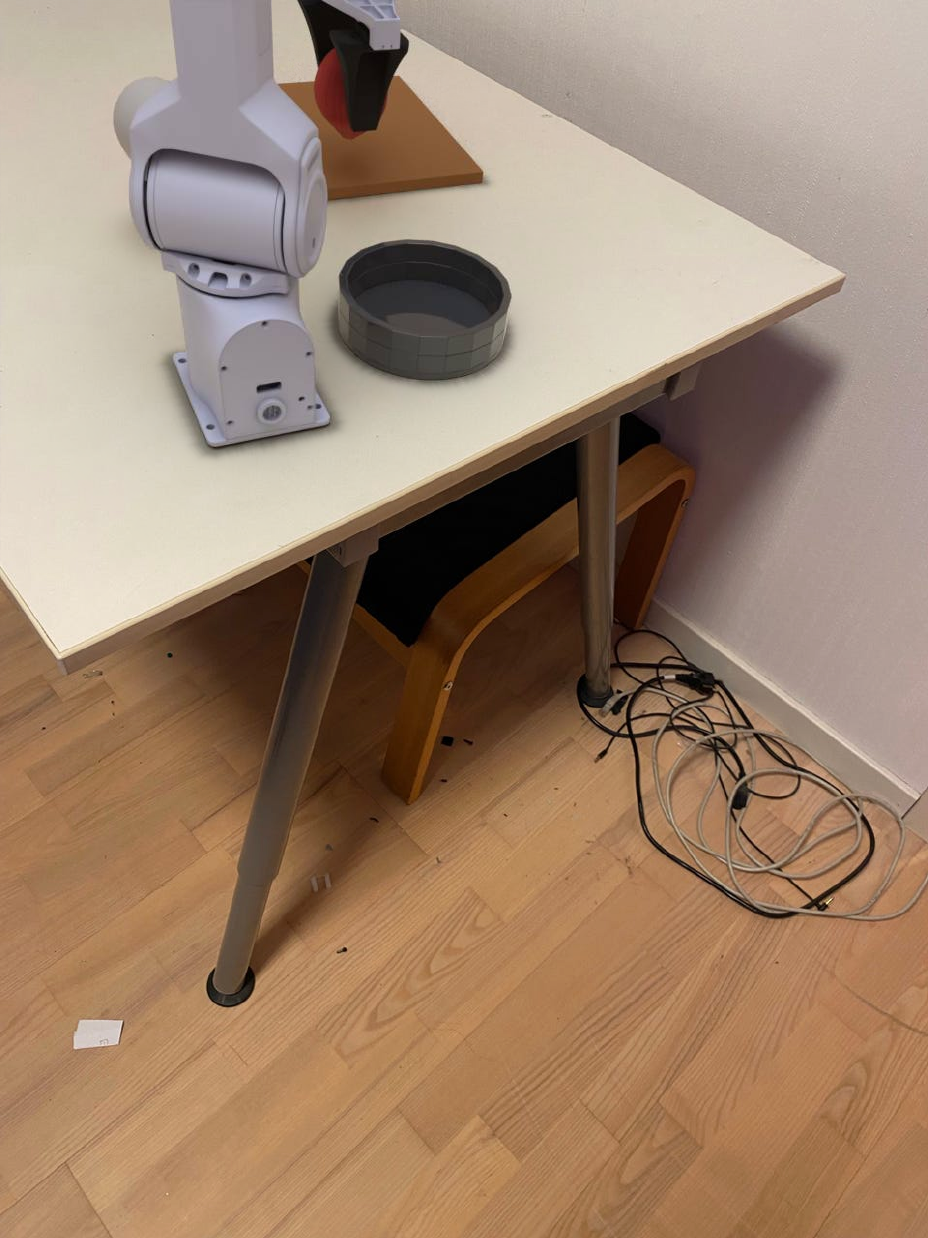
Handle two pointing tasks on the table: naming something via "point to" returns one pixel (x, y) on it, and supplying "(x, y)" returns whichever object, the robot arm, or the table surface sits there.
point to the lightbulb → (133, 106)
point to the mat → (388, 148)
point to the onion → (334, 95)
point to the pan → (423, 308)
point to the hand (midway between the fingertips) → (349, 111)
